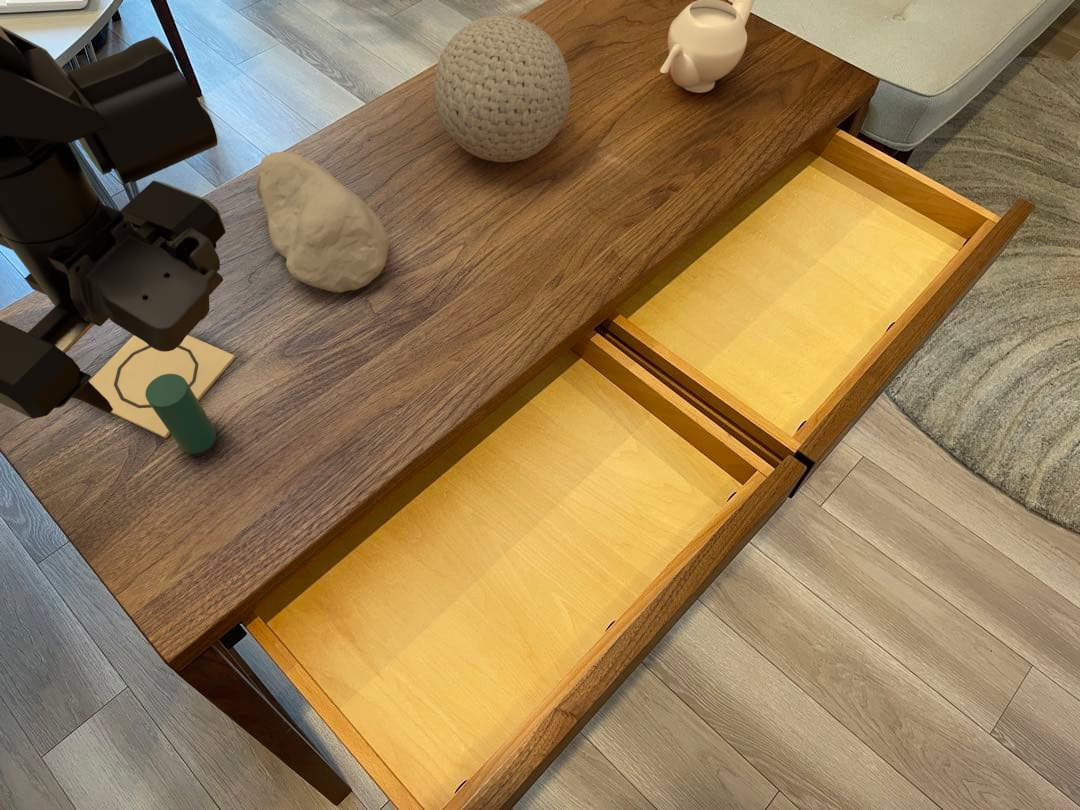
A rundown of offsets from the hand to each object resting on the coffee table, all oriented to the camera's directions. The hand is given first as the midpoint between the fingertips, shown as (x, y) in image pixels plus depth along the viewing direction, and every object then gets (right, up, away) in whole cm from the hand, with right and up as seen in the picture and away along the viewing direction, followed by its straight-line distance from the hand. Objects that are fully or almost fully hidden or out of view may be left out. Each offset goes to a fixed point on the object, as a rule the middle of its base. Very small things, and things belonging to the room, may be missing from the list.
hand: (149, 363), depth 59 cm
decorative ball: (+25, +27, +33) cm, 50 cm away
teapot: (+50, +38, +41) cm, 75 cm away
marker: (0, -7, +10) cm, 12 cm away
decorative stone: (+6, +14, +24) cm, 28 cm away
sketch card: (-6, -1, +14) cm, 15 cm away
